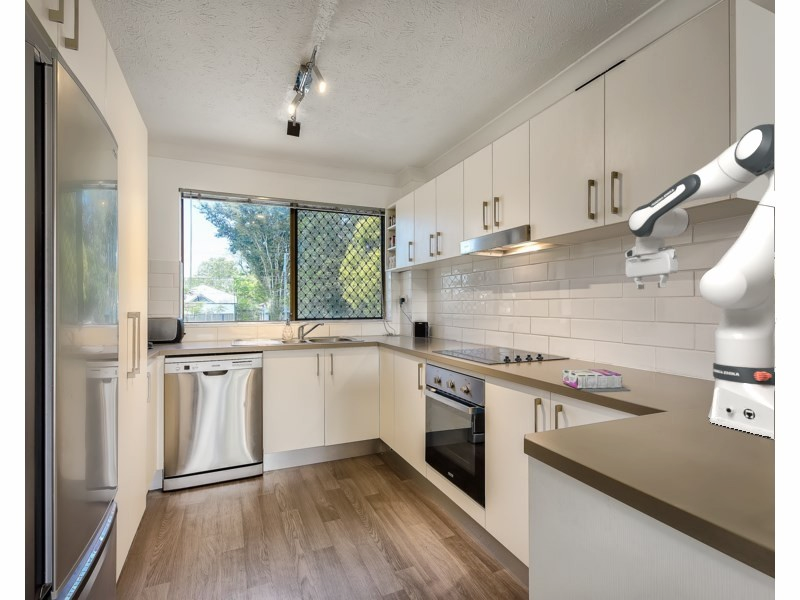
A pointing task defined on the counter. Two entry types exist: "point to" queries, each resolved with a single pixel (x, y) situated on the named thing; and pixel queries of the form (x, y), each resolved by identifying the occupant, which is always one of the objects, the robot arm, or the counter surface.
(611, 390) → the mat
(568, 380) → the candy bar box
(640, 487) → the counter surface
